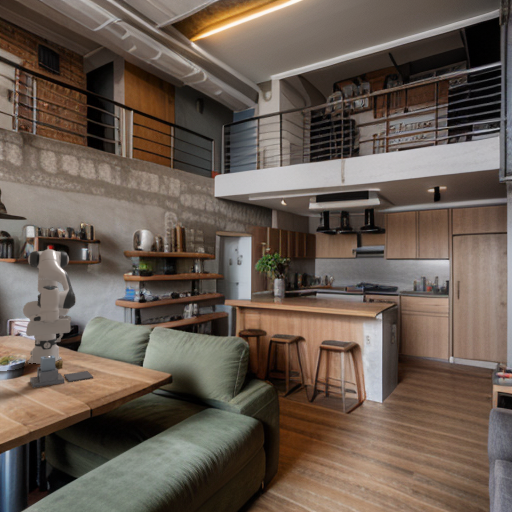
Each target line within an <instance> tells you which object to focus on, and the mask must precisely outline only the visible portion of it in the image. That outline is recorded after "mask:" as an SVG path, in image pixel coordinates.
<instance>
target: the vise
mask: <svg viewBox="0 0 512 512" xmlns="http://www.w3.org/2000/svg"><path fill="white" fill-rule="evenodd" d="M45 358H51V356H45ZM36 369H37V371H36V376H32V377H30V378H29V382H30V385H31V384H32V385H31V388H32V389H35V388H34V387H37V388H41V387H40V386H43V387H47V386H46V385H49V386H53V384H55V385H60V383H61V384H65V380H66V378H65V377H64V375H62V373H60V372H59V368H56V366H55V369H53V370H46V371H42V370H41V369H40V366H37V368H36Z"/></svg>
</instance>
